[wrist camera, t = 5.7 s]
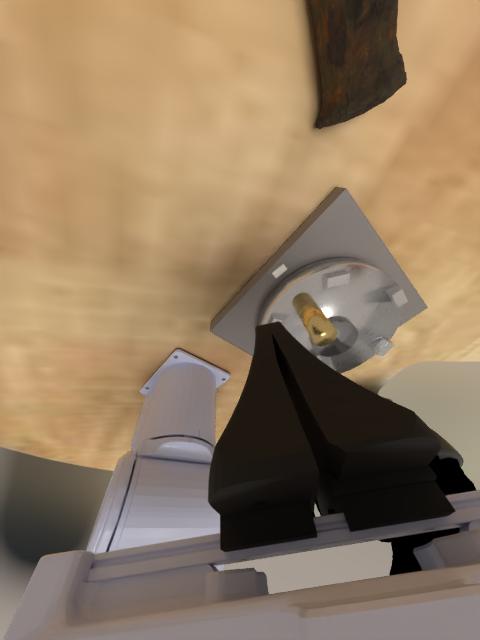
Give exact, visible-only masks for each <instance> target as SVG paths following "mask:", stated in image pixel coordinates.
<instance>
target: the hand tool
mask: <svg viewBox="0 0 480 640" xmlns="http://www.w3.org/2000/svg"><path fill="white" fill-rule="evenodd" d="M310 4H311V13H312V16H313V20H314V26H315V37H316V42H317V48H318V58H319V67H320V74H321V85H322V108H321V114H320V116H319V118H318V120H317V123H316V128H319V129H321V128H323V127H327V126H332V125H335V124H338V123H342V122H345V121H348V120H350V119H352V118H354V117H356V116H359V115H361V114H364V113H365V112H367V111H368V110H370V109H372V108H373V107H375V106H377V105H379V104H381V103H383V102H385V101H386V100H387V99H388V98H390V97H391V96H392V95H393V94H394V93H395V92H396V91H397V90H398V89H400V88H401V87H402V86H403V85H405V84H406V80H407V78H406V72H405V69H404V62H403V58H402V55H401V54H400V52H399V47H398V42H397V37H396V32H397V15H398V0H310Z"/></svg>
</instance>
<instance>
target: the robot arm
mask: <svg viewBox="0 0 480 640" xmlns="http://www.w3.org/2000/svg"><path fill="white" fill-rule="evenodd" d="M175 355H176V356H175ZM229 378H230V374H229V373H227V372H225V371H223V370H221V369H219V368H217V367H215V366H213V365H211V364H209V363H207V362H205V361H203V360H201V359H199V358H197V357H195V356H193V355H191V354H189V353H186V352H184V351H182V350H180V349H177V350H175V351H174V352H173V353H172V354H171V355H170V357H169V358H168V359H167V360H166V361H165V362H164V363H163V364H162V365H161V367H160V368H159V369H158V370H157V371H156V372H155V373H154V374H153V376H152V377H151V378H150V379H149V380H148V381H147V382H146V383H145V384H144V386H143V387H142V388H141V389H140V393H141V394H144V395H146V398H145V401H144V404H143V407H142V410H141V413H140V416H139V419H138V422H137V426H136V429H135V432H134V435H133V438H132V451H128V452H127V453H126V455H124V456H122V457H121V458H119V460H118V462H117V465H116V467H115V470H114V472H113V475H112V478H111V480H110V483H109V486H108V489H107V491H106V494H105V497H104V500H103V502H102V505H101V508H100V511H99V514H98V516H97V519H96V522H95V525H94V528H93V531H92V534H91V537H90V540H89V543H88V546H87V550H86V551H83V550H78V551H70V552H63V553H57V554H51V555H45V556H43V557H42V558H41V559H40V560H39V563H38V565H37V567H36V569H35V571H34V573H33V575H32V578H31V580H30V582H29V584H28V586H27V588H26V591H25V593H24V595H23V597H22V599H21V601H20V604H19V606H18V608H17V610H16V613H15V615H14V617H13V619H12V621H11V623H10V625H9V627H8V630H7V632H6V634H5V636H4V638H3V640H480V490H476V491H470V492H464V493H458V494H452V495H446V496H445V495H444V493H443V492H442V491H441V489H440V488H439V486H438V485H437V483H436V482H435V481H434V480H436V479H437V477H436V474H435V473H434V472H433V470H432V469H431V467H430V466H429V465H428V464H429V463H430V462H431V461H432V460H433V459H434V457H435V456H436V455H437V454H438V453H439V451H440V450H441V441H440V440H439V439H438V438H437V437H436V435H435V434H434V433H433V432H432V431H431V429H430V428H429V427H428V426H427V425H426V424H425V423H424V422H423V421H422V420H421V419H420V418H419V417H418V416H417V415H416V414H415V412H413V411H412V410H409V409H407V408H405V407H403V406H400V405H398V404H396V403H394V402H392V401H389V400H387V399H385V398H383V397H381V396H379V395H377V394H375V393H373V392H371V391H369V390H367V389H365V388H363V387H362V386H360V385H358V384H357V383H355V382H353V381H351V380H350V379H348V378H346V377H344V376H343V375H341V374H340V373H338V372H337V371H335V370H334V369H332V368H331V367H329V366H328V365H327V364H325V363H324V362H322V361H321V360H320V359H318V358H317V357H316V356H315V355H313V354H312V353H311V352H310V351H309V350H307V349H306V348H305V347H304V346H303V345H302V344H301V343H300V342H299V341H298V340H296V339H295V338H294V337H293V336H292V335H291V333H290V332H289V331H288V330H287V329H286V328H285V327H284V326H283V325H282V323H281V322H279V321H278V322H273V323H268V324H263V325H259V326H256V327H255V347H254V353H253V358H252V363H251V367H250V371H249V374H248V377H247V380H246V383H245V386H244V389H243V392H242V394H241V397H240V399H239V401H238V404H237V406H236V408H235V410H234V412H233V414H232V416H231V418H230V421H229V423H228V424H227V426H226V428H225V430H224V432H223V433H222V435H221V437H220V439H219V440H218V442H217V444H216V446H215V429H216V389H217V388H219V387H220V386H221V385H222V384H223V383H225V382H226V381H227V380H228V379H229ZM315 500H318V504H319V507H320V511H321V515H322V516H320V517H315V514H314V505H315ZM456 527H460V530H459V532H460V533H458V534H453V535H449V536H444V537H440V538H435V539H433V540H432V541H431V542H430V543H427V544H425V545H423V546H420V547H417V548H414V550H413V552H414V554H415V556H416V558H417V560H418V562H419V564H420V566H421V568H422V571H418V572H411V573H404V574H397V575H391V576H384V577H378V578H372V579H365V580H358V581H352V582H345V583H338V584H332V585H325V586H319V587H313V588H306V589H301V590H294V591H288V592H281V593H275V594H269V593H268V587H267V578H266V574H265V573H264V572H256V570H255V569H254V568H247V569H235V570H224V565H225V564H230V563H236V562H242V561H249V560H255V559H262V558H268V557H274V556H280V555H286V554H293V553H299V552H306V551H312V550H318V549H324V548H331V547H337V546H343V545H350V544H355V543H362V542H368V541H375V540H381V539H387V538H394V537H400V536H406V535H412V534H419V533H425V532H431V531H438V530H444V529H450V528H456Z"/></svg>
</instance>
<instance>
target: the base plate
mask: <svg viewBox="0 0 480 640" xmlns="http://www.w3.org/2000/svg"><path fill="white" fill-rule="evenodd" d="M342 257H344V258H354V259H358V260H362V261H364V262H367V263H369V264H371V265H372V266H374V267H376V268H377V269H379V270H380V271H382V272H384V273H385V274H387V275H388V276H390V277H391V278H392V279H393V280H394V281H395V282H396V283H397V284H398V286H399V287H400V288H401V289H402V290H403V292H404V294H405V296H406V298H407V300H408V302H407V303H405V304H404V309H403V314H402V318H401V321H400V324H399V326H401V325H402V324H404V323H405V322H407V321H408V320H410V319H411V318H413V317H414V316H416V315H417V314H419V313H421V312H422V311H424V310H425V309H427V308H428V307H427V305H426V304H425V303H424V301H423V300H422V298H421V297H420V295H419V294H418V292H417V291H416V289H415V288H414V287H413V285H412V284H411V282H410V281H409V279H408V278H407V276H406V275H405V273H404V272H403V270H402V269H401V268H400V266H399V265H398V263H397V262H396V260H395V259H394V257H393V256H392V254H391V253H390V252H389V250H388V249H387V247H386V246H385V244H384V243H383V241H382V240H381V238H380V237H379V235H378V234H377V233H376V231H375V230H374V228H373V227H372V225H371V224H370V222H369V221H368V219H367V218H366V216H365V215H364V214H363V212H362V211H361V209H360V208H359V206H358V205H357V203H356V202H355V200H354V199H353V198H352V196H351V195H350V193H349V192H348V190H347V189H346V188H339V187H336V188H335V189H334V190H333V191H332V192H331V193H330V194H329V196H328V197H327V198H326V199H325V200H324V201H323V202H322V203H321V204H320V205H319V206H318V207H317V208H316V210H315V211H314V212H313V213H312V214H311V215H310V216H309V217H308V218H307V219H306V220H305V221H304V222H303V224H302V225H301V226H300V227H299V228H298V229H297V230H296V231H295V232H294V233H293V234H292V235H291V237H290V238H289V239H288V240H287V241H286V242H285V243H284V244H283V245H282V246H281V247H280V248H279V249H278V251H277V252H276V253H275V254H274V255H273V256H272V257H271V258H270V259H269V260H268V261H267V262H266V263H265V265H264V266H263V267H262V268H261V269H260V270H259V271H258V272H257V273H256V274H255V275H254V276H253V278H252V279H251V280H250V281H249V282H248V283H247V284H246V285H245V286H244V287H243V288H242V289H241V290H240V292H239V293H238V294H237V295H236V296H235V297H234V298H233V299H232V300H231V301H230V302H229V303H228V304H227V306H226V307H225V308H224V309H223V310H222V311H221V312H220V313H219V314H218V315H217V316H216V317H215V319H214V320H213V321H212V322H211V325H210V332H212V333H214V334H215V335H217V336H219V337H221V338H222V339H224V340H226V341H228V342H229V343H231V344H233V345H235V346H236V347H238V348H240V349H241V350H243V351H245V352H247V353H248V354H250V355H252V356H253V353H254V347H255V327H256V326H258V321H259V315H260V312H261V310H262V307H263V305H264V303H265V301H266V299H267V298H268V297H269V295H270V294H271V292H272V291H273V290H274V289H275V288H276V287H277V286H278V285H279V284H280V283H281V282H282V281H283V280H284V279H285V278H287V277H288V276H289V275H291V274H292V273H294V272H295V271H297V270H299V269H301V268H302V267H305V266H307V265H309V264H311V263H314V262H317V261H321V260H325V259H330V258H342ZM399 326H398V327H399Z"/></svg>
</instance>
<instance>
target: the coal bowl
mask: <svg viewBox="0 0 480 640" xmlns="http://www.w3.org/2000/svg"><path fill="white" fill-rule="evenodd" d="M431 431H432V432H433V433H434V434H435V435H436V437H437V438H438V439H439V440H440V441H441V450H440V451H439V453H438V454H437V455H436V456H435V457H434V459H433V460H432V461H431V462H430V463H429V464H428V465H429V466H430V467H431V469H432V470H433V472H434V473H435V474H436V477H437V479H436V480H434V481H435V482H436V483H437V485H438V486H439V488H440V489H441V491H442V492H443V493H444V495H445V496H446V495H452V494H458V493H464V492H470V491H476V488H475V486H474V484H473V483H472V482H471V481H470V480H469V479H468V478H467V476H466V475H465V474H464V472H463V470H462V469H461V466H462V465H463V458H462V457H461V455H460V454H459V453H458V452H457V451H456V450H455V449H454V448H453V447H452V446H451V445H450V444H449V443H448V442H447V441H446V440H445V439H443V438H442V437H441V436H440V435H438V434H437V433H436V432H435V431H433V430H432V429H431ZM315 504H316V505H317V508H318V511H319V512H320V515H321V511H320V507H319V504H318V500H315ZM321 516H322V515H321ZM459 530H460V527H456V528H450V529H444V530H438V531H431V532H425V533H419V534H412V535H406V536H400V537H394V538H387V539H381V540H379V541H381V542H391V545H392V551H393V556H392V557H393V560H392V566H391V570H390V576H391V575H397V574H404V573H411V572H418V571H422V568H421V566H420V564H419V562H418V560H417V558H416V556H415V554H414V552H413V550H414V548H417V547H420V546H423V545H425V544H427V543H430V542H431V541H432V540H433V539H435V538H440V537H444V536H449V535H453V534H458V533H460V532H459Z"/></svg>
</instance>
